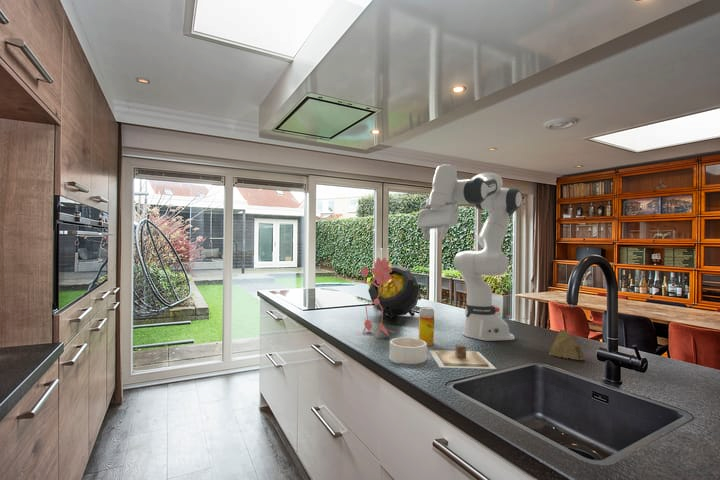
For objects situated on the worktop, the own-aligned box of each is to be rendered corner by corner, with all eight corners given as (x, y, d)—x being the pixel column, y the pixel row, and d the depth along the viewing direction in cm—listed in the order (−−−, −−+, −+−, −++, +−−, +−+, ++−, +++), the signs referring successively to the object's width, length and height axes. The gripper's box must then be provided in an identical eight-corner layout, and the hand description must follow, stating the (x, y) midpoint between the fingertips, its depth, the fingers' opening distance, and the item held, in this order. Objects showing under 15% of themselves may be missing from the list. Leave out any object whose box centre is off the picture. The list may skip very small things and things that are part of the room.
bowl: (422, 354, 139) (423, 338, 139) (428, 365, 126) (429, 347, 126) (388, 353, 139) (388, 337, 139) (391, 364, 126) (391, 346, 126)
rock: (592, 354, 136) (569, 343, 146) (585, 337, 134) (562, 327, 143) (572, 373, 134) (550, 360, 144) (564, 356, 132) (542, 345, 141)
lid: (475, 353, 140) (475, 340, 140) (488, 366, 125) (488, 352, 125) (435, 352, 140) (435, 339, 140) (444, 365, 125) (444, 351, 125)
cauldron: (435, 309, 207) (424, 286, 190) (393, 335, 207) (378, 314, 191) (413, 276, 227) (400, 253, 211) (374, 300, 228) (359, 279, 211)
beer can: (433, 346, 149) (434, 309, 149) (418, 345, 150) (419, 308, 150) (433, 343, 155) (434, 307, 155) (418, 341, 156) (419, 306, 156)
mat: (478, 353, 142) (478, 351, 142) (496, 370, 123) (496, 368, 123) (429, 351, 142) (429, 350, 142) (439, 368, 123) (439, 367, 123)
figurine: (388, 342, 154) (391, 258, 155) (350, 330, 174) (353, 256, 175) (413, 337, 164) (416, 259, 164) (374, 326, 184) (377, 256, 184)
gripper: (465, 202, 134) (458, 239, 132) (430, 209, 152) (423, 241, 150) (452, 197, 131) (445, 234, 129) (417, 204, 149) (411, 237, 147)
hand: (433, 238), depth 139 cm, fingers open, 8 cm apart
